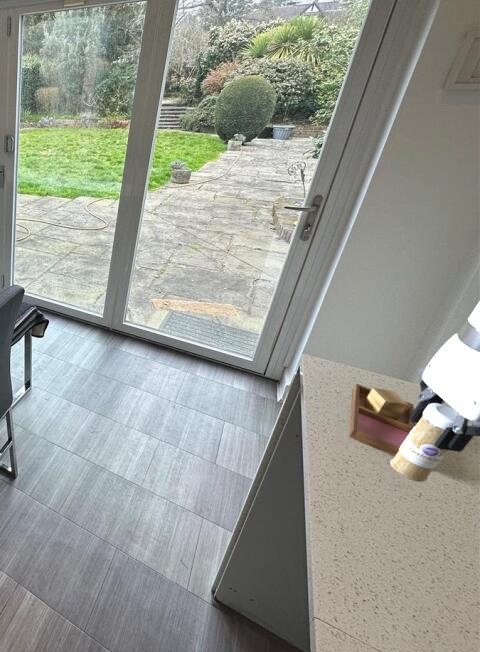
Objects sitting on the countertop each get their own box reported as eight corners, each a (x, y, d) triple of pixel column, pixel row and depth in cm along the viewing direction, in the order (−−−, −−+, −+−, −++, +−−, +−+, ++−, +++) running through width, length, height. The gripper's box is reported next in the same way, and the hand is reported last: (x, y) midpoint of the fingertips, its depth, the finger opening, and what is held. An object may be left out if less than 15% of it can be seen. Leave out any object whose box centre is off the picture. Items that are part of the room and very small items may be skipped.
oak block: (385, 404, 87) (394, 390, 86) (398, 418, 84) (408, 404, 82) (363, 401, 88) (372, 387, 86) (376, 415, 85) (385, 401, 83)
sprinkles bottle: (397, 477, 68) (438, 419, 62) (384, 456, 72) (422, 398, 66) (433, 487, 66) (479, 427, 60) (417, 464, 70) (459, 406, 64)
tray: (408, 411, 87) (413, 404, 86) (413, 464, 75) (419, 456, 74) (352, 390, 92) (356, 383, 91) (348, 436, 80) (353, 429, 79)
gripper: (603, 387, 49) (512, 487, 57) (478, 313, 64) (421, 400, 72) (526, 378, 50) (448, 477, 59) (422, 308, 65) (371, 394, 73)
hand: (434, 434), depth 65 cm, fingers closed on sprinkles bottle, 4 cm apart
